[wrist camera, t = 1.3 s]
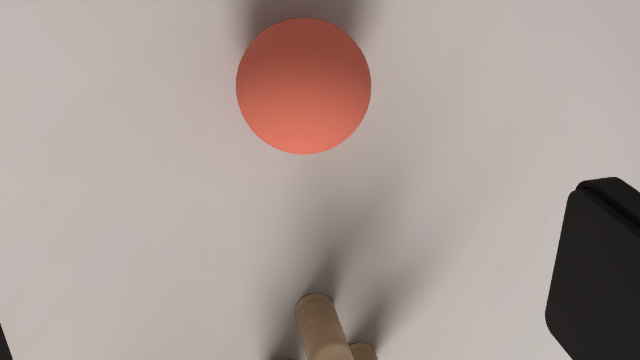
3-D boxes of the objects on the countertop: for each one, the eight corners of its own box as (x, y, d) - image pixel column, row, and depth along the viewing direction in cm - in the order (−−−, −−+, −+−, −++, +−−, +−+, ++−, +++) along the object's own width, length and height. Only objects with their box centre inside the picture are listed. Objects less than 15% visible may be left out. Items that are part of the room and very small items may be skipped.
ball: (222, 13, 28) (233, 45, 23) (348, -1, 29) (387, 26, 24) (238, 133, 31) (252, 186, 25) (353, 117, 32) (390, 165, 26)
